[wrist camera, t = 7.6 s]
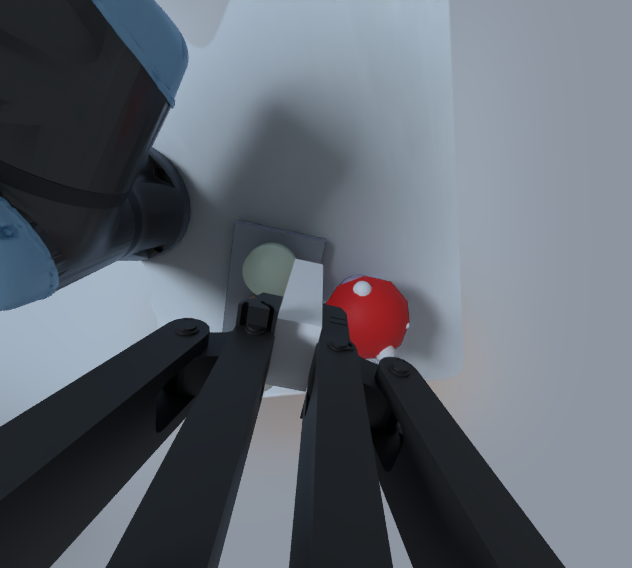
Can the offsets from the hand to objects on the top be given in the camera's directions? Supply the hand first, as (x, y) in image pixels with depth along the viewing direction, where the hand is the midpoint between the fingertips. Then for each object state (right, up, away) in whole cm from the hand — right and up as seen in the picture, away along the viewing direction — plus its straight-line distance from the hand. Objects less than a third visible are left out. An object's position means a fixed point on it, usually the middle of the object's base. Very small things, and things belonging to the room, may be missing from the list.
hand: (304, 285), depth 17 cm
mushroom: (+7, -1, +29) cm, 30 cm away
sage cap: (-5, +2, +23) cm, 23 cm away
